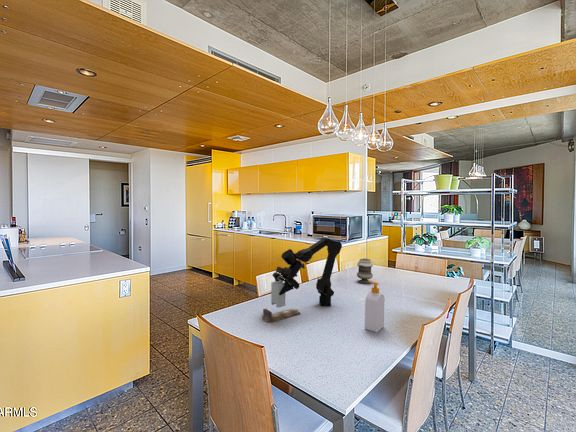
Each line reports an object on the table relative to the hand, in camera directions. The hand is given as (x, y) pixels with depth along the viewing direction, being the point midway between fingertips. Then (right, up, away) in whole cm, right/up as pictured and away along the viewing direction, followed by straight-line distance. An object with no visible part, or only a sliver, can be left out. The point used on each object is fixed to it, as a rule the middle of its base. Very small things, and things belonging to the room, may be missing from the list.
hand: (276, 293), depth 152 cm
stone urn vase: (+66, -11, +71) cm, 97 cm away
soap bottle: (+49, -15, -10) cm, 52 cm away
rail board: (+3, -13, +3) cm, 14 cm away
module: (+1, -7, +1) cm, 7 cm away
